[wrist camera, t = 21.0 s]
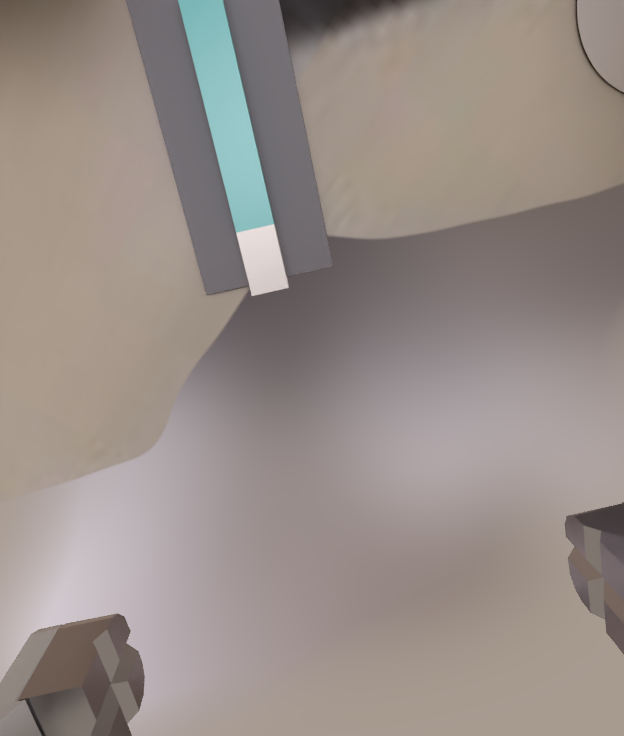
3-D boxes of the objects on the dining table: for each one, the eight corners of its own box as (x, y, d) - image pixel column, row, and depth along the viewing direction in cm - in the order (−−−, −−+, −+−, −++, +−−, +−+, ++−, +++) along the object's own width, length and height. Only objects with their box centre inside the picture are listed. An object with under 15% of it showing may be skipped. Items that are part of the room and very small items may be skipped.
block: (221, -9, 38) (216, -29, 35) (288, 283, 44) (288, 287, 41) (182, 0, 38) (173, -19, 35) (254, 291, 44) (251, 296, 41)
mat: (266, -59, 38) (266, -63, 38) (332, 266, 44) (332, 266, 44) (120, -25, 38) (118, -28, 38) (207, 294, 45) (206, 294, 44)
